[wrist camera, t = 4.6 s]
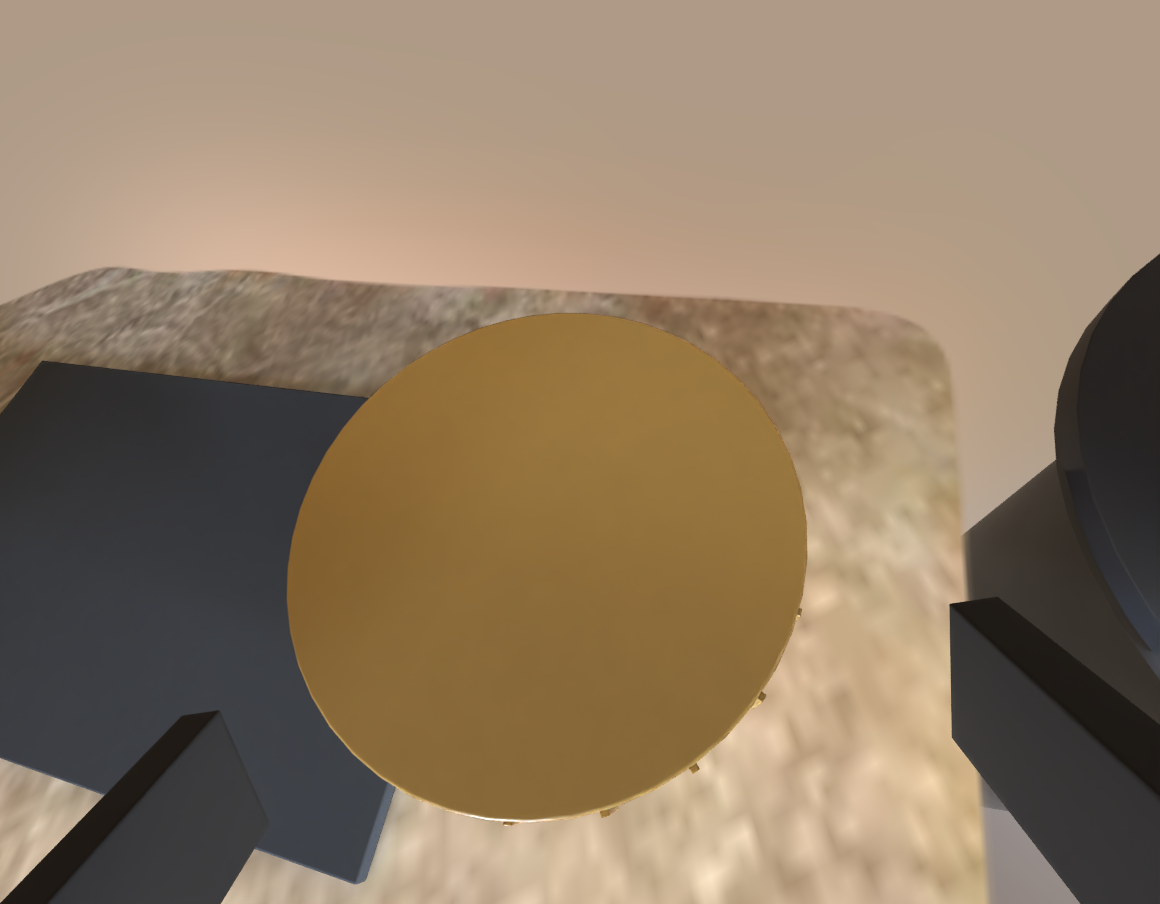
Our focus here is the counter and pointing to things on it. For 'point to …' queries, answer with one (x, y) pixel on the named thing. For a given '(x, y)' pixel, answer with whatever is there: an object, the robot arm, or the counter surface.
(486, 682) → the lid
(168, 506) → the mat
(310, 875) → the counter surface
